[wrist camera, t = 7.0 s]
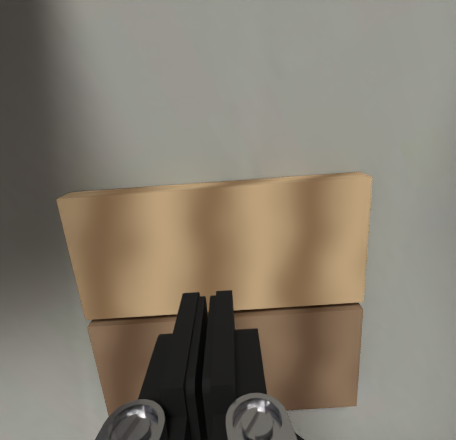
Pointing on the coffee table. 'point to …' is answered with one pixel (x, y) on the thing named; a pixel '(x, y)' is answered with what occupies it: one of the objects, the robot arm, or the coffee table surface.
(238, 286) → the oak plank
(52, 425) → the coffee table surface
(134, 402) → the robot arm
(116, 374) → the walnut board
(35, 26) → the coffee table surface
